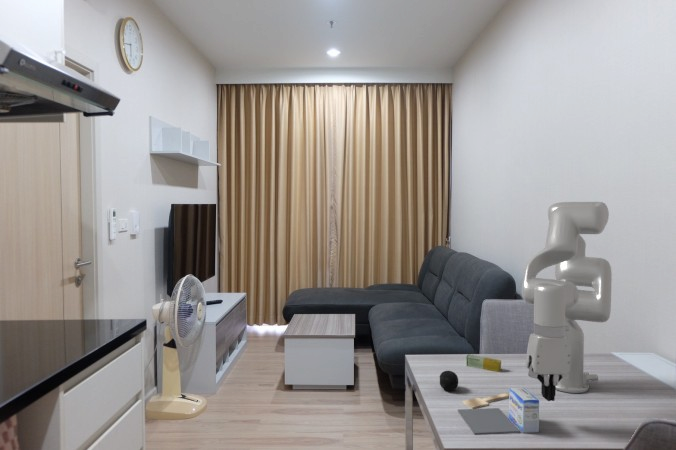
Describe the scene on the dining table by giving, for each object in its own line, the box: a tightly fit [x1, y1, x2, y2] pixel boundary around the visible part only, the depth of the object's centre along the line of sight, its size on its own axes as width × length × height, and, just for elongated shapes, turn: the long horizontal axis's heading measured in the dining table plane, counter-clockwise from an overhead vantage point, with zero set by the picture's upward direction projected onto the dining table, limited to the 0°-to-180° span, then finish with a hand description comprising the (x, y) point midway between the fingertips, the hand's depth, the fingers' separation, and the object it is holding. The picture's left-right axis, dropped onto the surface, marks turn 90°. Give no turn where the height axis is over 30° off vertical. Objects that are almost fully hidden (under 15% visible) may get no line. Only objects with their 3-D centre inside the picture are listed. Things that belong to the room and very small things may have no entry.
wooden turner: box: [462, 392, 509, 409], centre depth 131 cm, size 16×4×1 cm, turn 113°
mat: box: [457, 407, 521, 435], centre depth 119 cm, size 12×13×1 cm
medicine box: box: [508, 387, 540, 434], centre depth 116 cm, size 8×4×9 cm, turn 5°
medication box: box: [466, 353, 502, 373], centre depth 158 cm, size 12×3×4 cm, turn 57°
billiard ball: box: [438, 370, 459, 392], centre depth 139 cm, size 6×6×6 cm
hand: (548, 398), depth 116 cm, fingers closed
